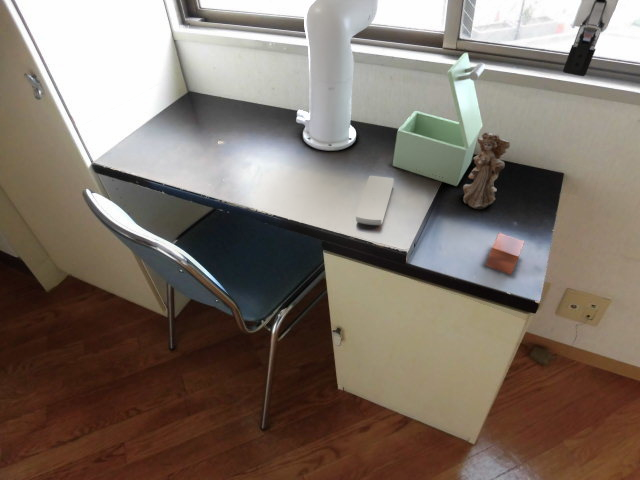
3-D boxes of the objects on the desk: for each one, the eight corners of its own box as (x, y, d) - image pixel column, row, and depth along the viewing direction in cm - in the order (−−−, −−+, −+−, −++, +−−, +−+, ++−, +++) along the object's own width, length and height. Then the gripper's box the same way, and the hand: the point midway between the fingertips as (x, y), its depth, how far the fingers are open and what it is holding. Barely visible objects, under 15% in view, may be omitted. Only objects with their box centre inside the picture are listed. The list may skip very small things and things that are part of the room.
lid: (447, 72, 86) (471, 66, 83) (463, 53, 92) (486, 48, 89) (464, 148, 93) (487, 146, 90) (479, 126, 99) (500, 123, 97)
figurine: (451, 200, 96) (469, 134, 85) (464, 186, 99) (482, 121, 89) (486, 215, 92) (508, 148, 82) (498, 200, 96) (521, 134, 86)
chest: (392, 165, 104) (397, 130, 98) (409, 144, 111) (415, 110, 105) (456, 186, 99) (466, 150, 93) (470, 163, 105) (480, 128, 99)
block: (485, 265, 82) (492, 247, 79) (492, 250, 85) (498, 232, 82) (511, 275, 81) (518, 257, 78) (516, 259, 84) (524, 241, 81)
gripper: (601, -77, 70) (561, 40, 82) (587, -55, 59) (543, 78, 71) (658, -72, 68) (608, 48, 79) (655, -48, 56) (597, 88, 68)
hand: (577, 62), depth 75 cm, fingers open, 9 cm apart
